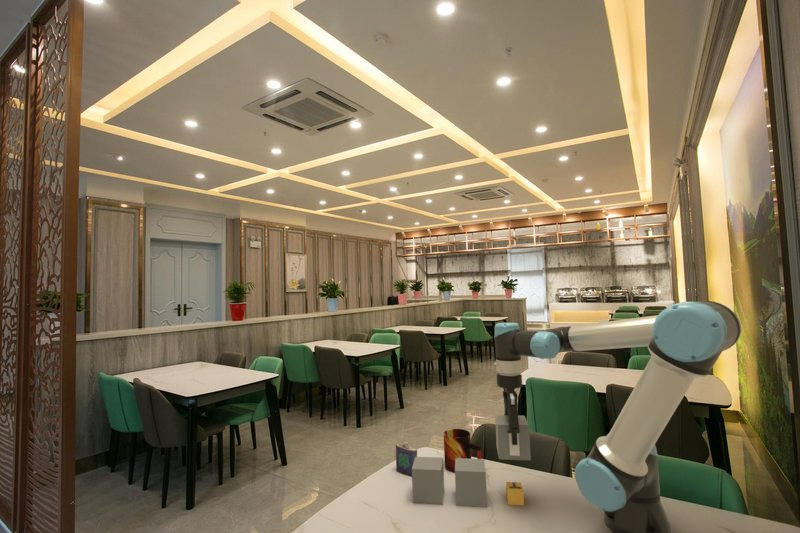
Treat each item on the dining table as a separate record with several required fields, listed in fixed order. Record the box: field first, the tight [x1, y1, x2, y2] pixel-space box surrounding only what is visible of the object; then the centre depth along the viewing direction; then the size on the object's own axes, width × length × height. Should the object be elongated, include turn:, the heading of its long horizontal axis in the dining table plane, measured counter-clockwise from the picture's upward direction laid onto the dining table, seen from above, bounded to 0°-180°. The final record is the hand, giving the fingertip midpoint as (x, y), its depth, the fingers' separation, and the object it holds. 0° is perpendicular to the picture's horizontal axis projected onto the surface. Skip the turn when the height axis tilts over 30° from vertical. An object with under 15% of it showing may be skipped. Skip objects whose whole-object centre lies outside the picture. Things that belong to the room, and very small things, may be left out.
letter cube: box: [505, 481, 525, 506], centre depth 118 cm, size 4×4×5 cm
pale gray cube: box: [454, 458, 488, 508], centre depth 120 cm, size 9×9×10 cm
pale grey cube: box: [494, 414, 532, 461], centre depth 119 cm, size 9×9×10 cm
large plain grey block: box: [411, 456, 445, 506], centre depth 122 cm, size 9×9×10 cm
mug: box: [443, 428, 482, 474], centre depth 141 cm, size 10×14×12 cm
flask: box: [395, 441, 418, 477], centre depth 138 cm, size 9×3×11 cm, turn 50°
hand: (512, 448), depth 118 cm, fingers closed on pale grey cube, 9 cm apart
